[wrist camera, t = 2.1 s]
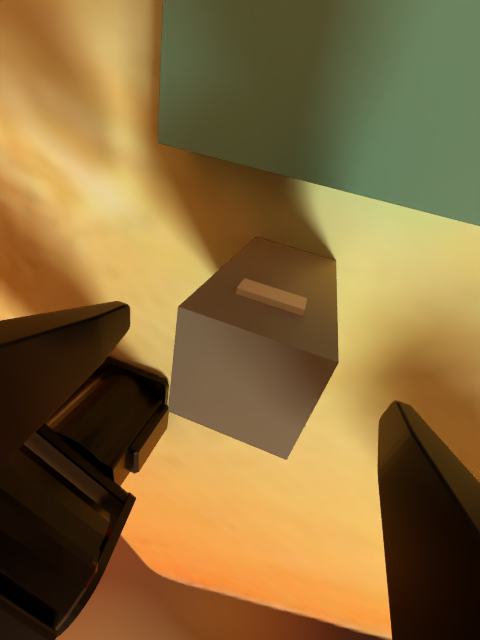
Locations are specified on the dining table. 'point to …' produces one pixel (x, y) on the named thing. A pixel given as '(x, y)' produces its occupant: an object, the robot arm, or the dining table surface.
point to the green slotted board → (331, 94)
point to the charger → (257, 345)
